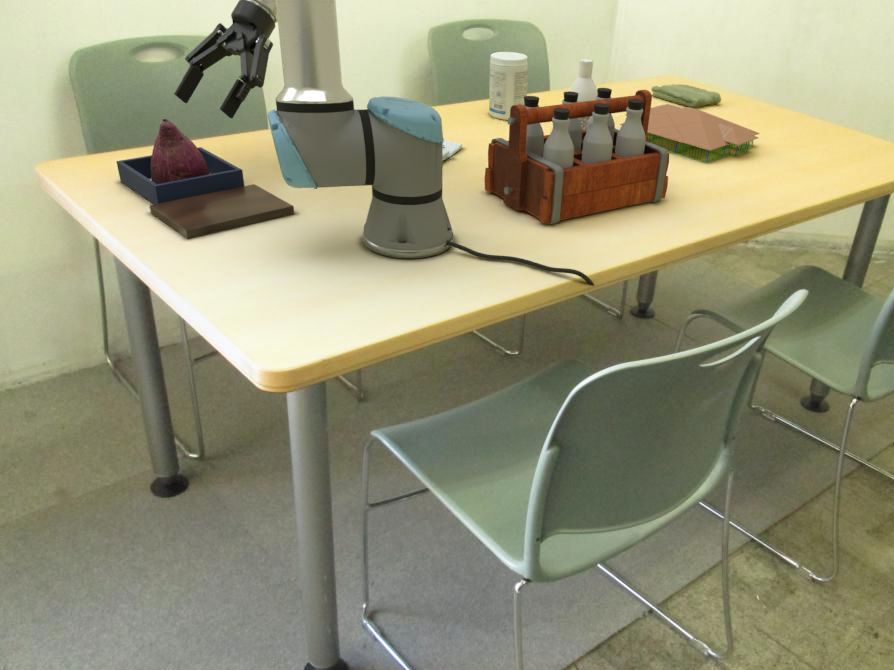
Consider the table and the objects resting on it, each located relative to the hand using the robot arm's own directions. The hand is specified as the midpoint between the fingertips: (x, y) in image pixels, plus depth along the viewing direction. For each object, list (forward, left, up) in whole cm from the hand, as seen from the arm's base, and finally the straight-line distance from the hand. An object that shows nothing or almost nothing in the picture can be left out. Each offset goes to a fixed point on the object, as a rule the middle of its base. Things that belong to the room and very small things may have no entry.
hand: (202, 106), depth 158 cm
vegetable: (-1, +7, -14) cm, 15 cm away
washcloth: (-10, -139, -14) cm, 140 cm away
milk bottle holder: (-48, -53, -14) cm, 73 cm away
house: (-36, -105, -14) cm, 112 cm away
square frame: (-1, +7, -14) cm, 15 cm away
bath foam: (-27, -76, -14) cm, 82 cm away
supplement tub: (+4, -82, -14) cm, 83 cm away
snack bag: (-8, -42, -14) cm, 45 cm away
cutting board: (-18, +7, -14) cm, 24 cm away
